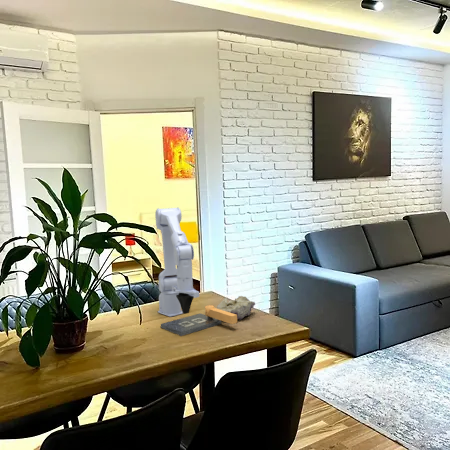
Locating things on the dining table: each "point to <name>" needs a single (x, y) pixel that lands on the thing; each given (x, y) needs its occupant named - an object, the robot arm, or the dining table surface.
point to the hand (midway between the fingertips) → (186, 312)
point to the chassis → (190, 324)
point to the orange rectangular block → (220, 314)
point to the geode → (237, 306)
